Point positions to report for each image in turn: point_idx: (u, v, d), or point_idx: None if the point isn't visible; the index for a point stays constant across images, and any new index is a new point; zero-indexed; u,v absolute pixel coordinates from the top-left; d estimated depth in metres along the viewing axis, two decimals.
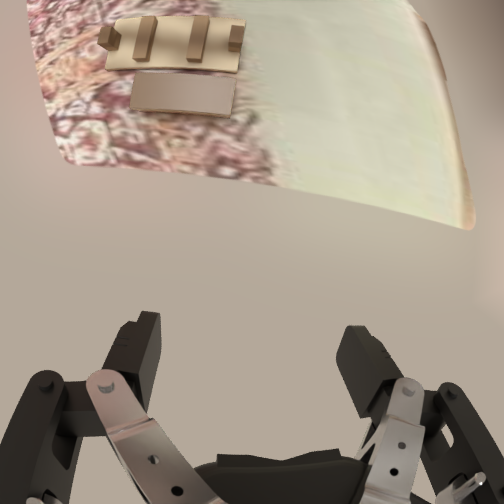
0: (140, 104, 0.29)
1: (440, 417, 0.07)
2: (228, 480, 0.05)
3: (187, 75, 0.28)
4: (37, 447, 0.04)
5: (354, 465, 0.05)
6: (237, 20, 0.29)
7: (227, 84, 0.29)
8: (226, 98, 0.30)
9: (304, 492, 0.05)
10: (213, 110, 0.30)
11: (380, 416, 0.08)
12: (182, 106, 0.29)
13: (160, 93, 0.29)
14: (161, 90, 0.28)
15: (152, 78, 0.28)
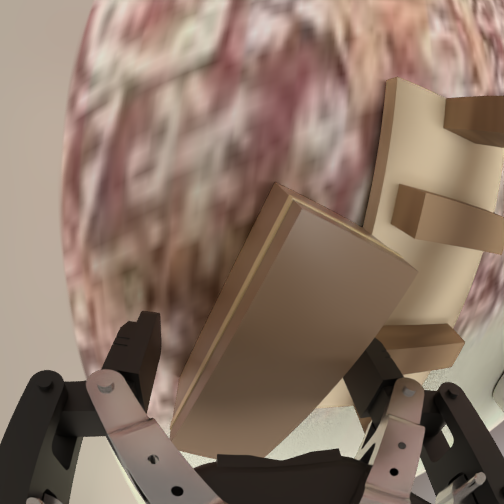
0: (292, 262, 0.08)
1: (440, 417, 0.07)
2: (228, 480, 0.05)
3: (312, 406, 0.10)
4: (37, 447, 0.04)
5: (354, 465, 0.05)
6: None
7: None
8: (211, 451, 0.11)
9: (304, 492, 0.05)
10: (185, 431, 0.10)
11: (380, 416, 0.08)
12: (219, 384, 0.09)
13: (297, 339, 0.09)
14: (307, 344, 0.09)
15: (364, 324, 0.09)
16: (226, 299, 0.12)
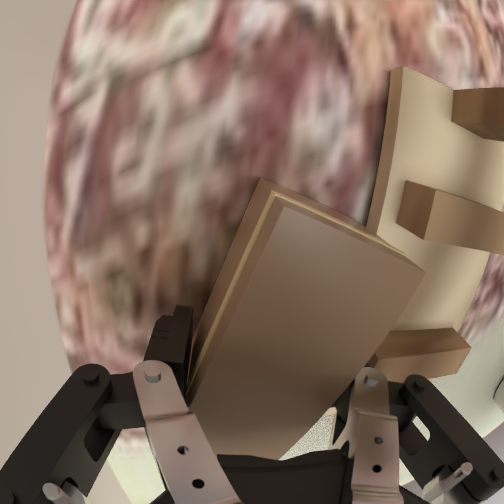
0: (277, 270, 0.07)
1: (406, 410, 0.08)
2: (228, 480, 0.05)
3: (311, 422, 0.09)
4: (69, 437, 0.05)
5: None
6: None
7: None
8: None
9: (304, 492, 0.05)
10: None
11: (345, 409, 0.09)
12: (206, 405, 0.08)
13: (288, 356, 0.08)
14: (300, 360, 0.08)
15: (366, 334, 0.08)
16: (212, 309, 0.11)
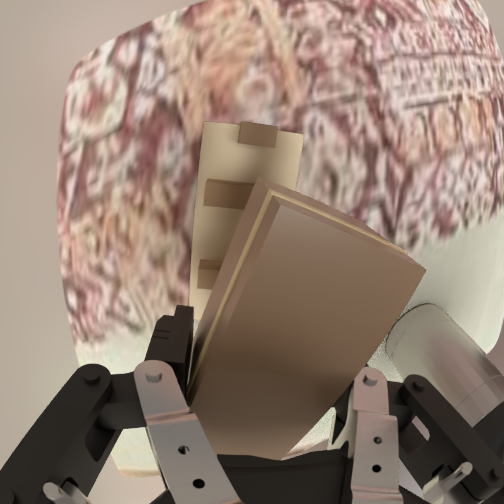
0: (274, 269, 0.07)
1: (406, 410, 0.08)
2: (228, 480, 0.05)
3: (312, 422, 0.09)
4: (69, 437, 0.05)
5: None
6: None
7: None
8: None
9: (304, 492, 0.05)
10: None
11: (344, 409, 0.09)
12: (206, 405, 0.08)
13: (288, 355, 0.08)
14: (300, 360, 0.08)
15: (366, 333, 0.07)
16: (211, 309, 0.10)
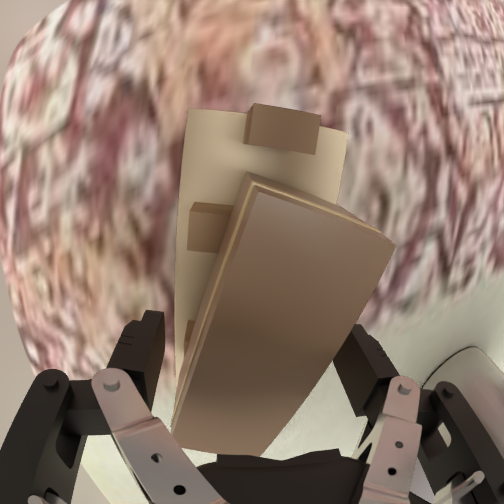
0: (257, 246, 0.08)
1: (436, 416, 0.07)
2: (228, 480, 0.05)
3: (304, 393, 0.10)
4: (40, 445, 0.04)
5: (354, 465, 0.05)
6: None
7: (247, 449, 0.12)
8: (211, 446, 0.11)
9: (304, 493, 0.05)
10: (182, 427, 0.11)
11: (376, 415, 0.08)
12: (205, 377, 0.09)
13: (275, 325, 0.09)
14: (286, 329, 0.09)
15: (345, 304, 0.09)
16: (209, 292, 0.12)
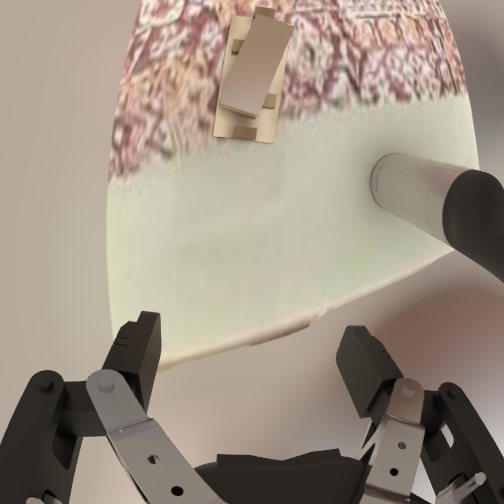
0: (256, 23, 0.24)
1: (440, 417, 0.07)
2: (228, 480, 0.05)
3: (274, 71, 0.27)
4: (37, 447, 0.04)
5: (354, 465, 0.05)
6: (273, 135, 0.36)
7: (253, 106, 0.28)
8: (237, 102, 0.28)
9: (304, 492, 0.05)
10: (227, 87, 0.27)
11: (380, 416, 0.08)
12: (240, 59, 0.26)
13: (262, 42, 0.25)
14: (265, 44, 0.26)
15: (282, 39, 0.25)
16: None
